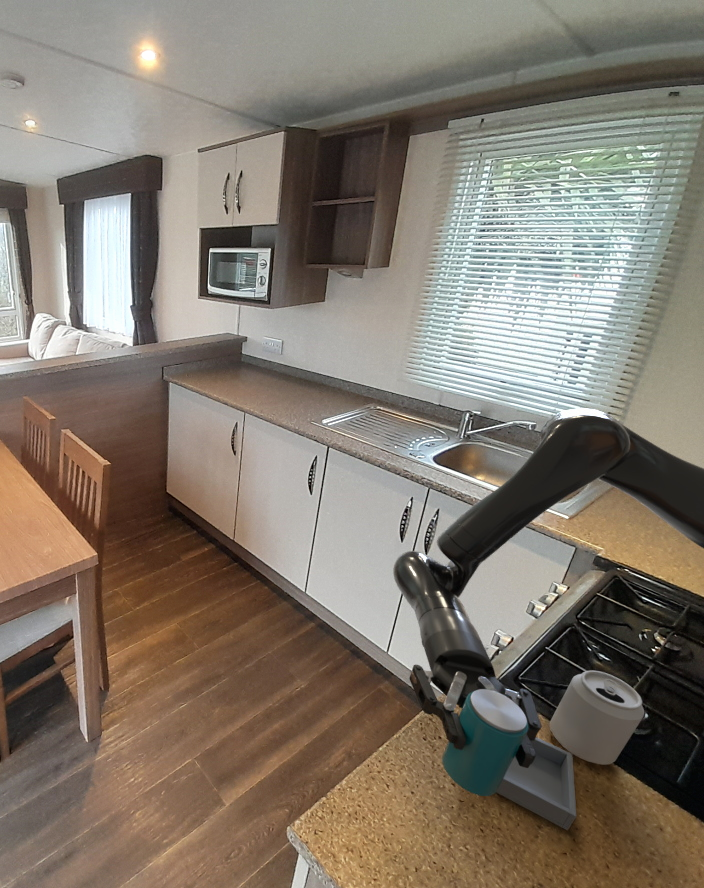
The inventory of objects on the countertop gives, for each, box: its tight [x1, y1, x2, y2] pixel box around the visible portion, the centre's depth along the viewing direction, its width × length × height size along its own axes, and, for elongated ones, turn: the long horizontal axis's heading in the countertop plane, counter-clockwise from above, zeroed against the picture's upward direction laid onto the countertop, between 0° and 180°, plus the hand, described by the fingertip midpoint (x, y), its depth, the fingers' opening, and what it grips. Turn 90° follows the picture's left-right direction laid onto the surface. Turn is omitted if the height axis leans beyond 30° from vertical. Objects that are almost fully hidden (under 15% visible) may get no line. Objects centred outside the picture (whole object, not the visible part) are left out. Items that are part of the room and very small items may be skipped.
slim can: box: [441, 689, 528, 797], centre depth 59 cm, size 6×6×12 cm
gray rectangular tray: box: [495, 736, 577, 831], centre depth 68 cm, size 11×10×3 cm
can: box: [548, 669, 645, 766], centre depth 70 cm, size 8×8×12 cm
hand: (493, 753), depth 57 cm, fingers closed on slim can, 6 cm apart
